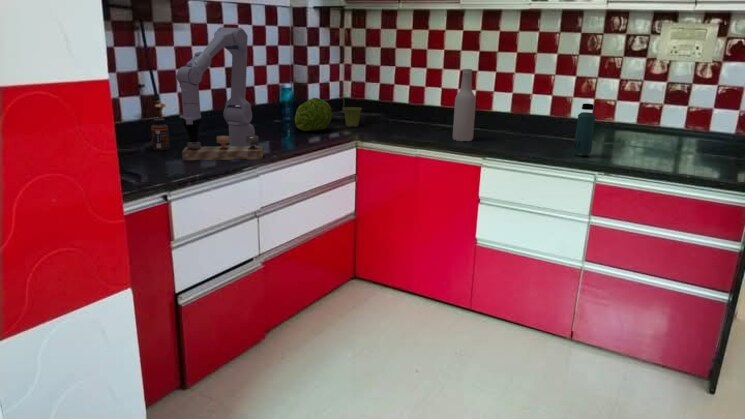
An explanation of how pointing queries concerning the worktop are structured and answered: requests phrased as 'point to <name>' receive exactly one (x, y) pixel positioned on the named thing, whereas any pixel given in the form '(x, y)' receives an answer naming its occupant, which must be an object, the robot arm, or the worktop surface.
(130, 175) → the worktop surface
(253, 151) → the knob bar
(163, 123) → the supplement bottle
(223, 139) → the pot knob
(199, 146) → the knob
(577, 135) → the beverage bottle
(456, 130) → the alcohol
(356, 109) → the plant pot
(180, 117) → the robot arm
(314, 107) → the lettuce
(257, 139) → the knob
